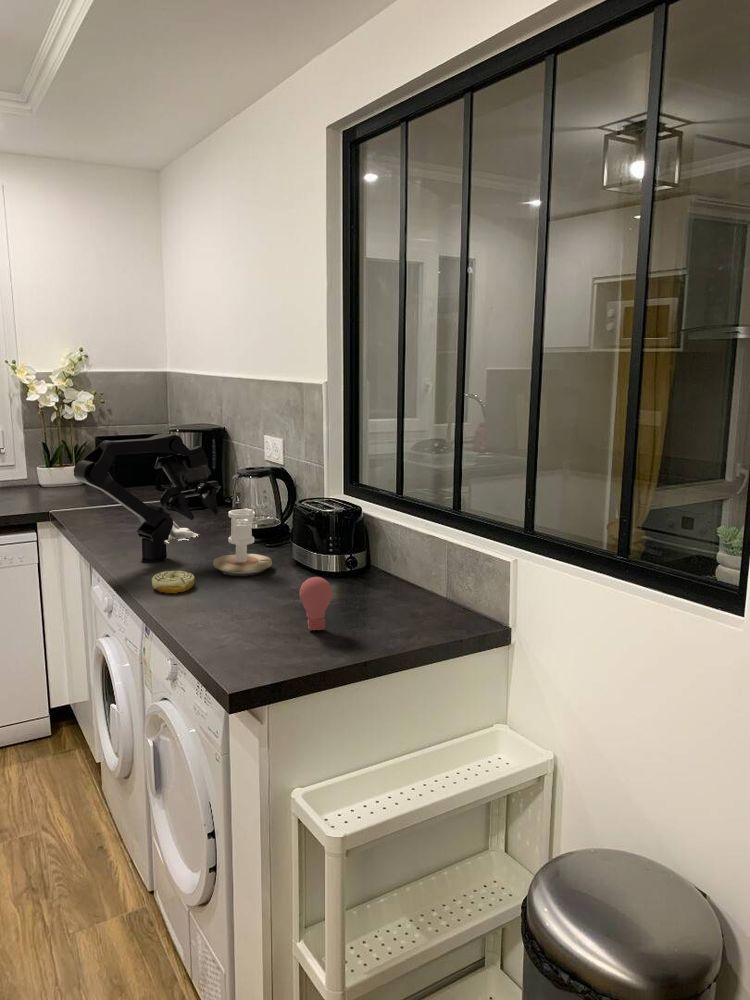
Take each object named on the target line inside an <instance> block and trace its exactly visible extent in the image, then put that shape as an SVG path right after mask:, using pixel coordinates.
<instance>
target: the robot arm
mask: <svg viewBox="0 0 750 1000" xmlns="http://www.w3.org/2000/svg"><path fill="white" fill-rule="evenodd" d="M146 453H156V454H157V453H158V454H164V455H167V456H163V457H162V456H157V458H156V461H155V465H154V467H153V468H154V469H155V470H156V469H161V468H162V469H163V471H164V473H165V474H166V476H167V477H168V479H169V480H170V482H169V484H168V485H169V486H170V487H168V488H166V489H165V490H164V492H163V493H162V495H161V496H160V498H159V503H160V505H161V506H159V505H155V504H151V503H149V505H147V504H146V503H144V501H142V500H140V499H139V498H137V497H136V496H135V495H134V494H133V493H131V492H130V491H129V490H127V489H126V488H125V487H123V486H122V485H120V484H119V483H118V482H116V481H115V480H114V479H113V477H112V475H111V474H110V473H109V469H110V468H111V466H112V464H113V462H114V460H115V458H116V457H117V456H120V455H134V454H146ZM208 465H209V457H208V456H207V454H206V453H205V451H204V450H203V447H202V446H199V445H197V446H194V447H192V448H189V447H187V446H186V444H185V443H184V441H183V439H182V437H180V435H177V434H173V433H164V432H162V433H159V434H155V435H153V436H151V437H147V438H137V439H136V438H135V439H134V438H133V439H121V440H119V439H118V440H102V441H101V442H100V443H99V444H98V446H97V447H95V448H94V449H93V450H92V451H90V452H88V454H86V455H85V456H84V458H83V459H81V460H80V461H78V462H76V464H75V466H74V467H73V476H74V478H75V479H76V480H77V481H79V482H82V483H84V484H86V485H89V486H91V487H92V488H94V489H95V488H96V489H98V490H100V491H101V492H103V493H104V494H105V495H107V496H108V497H110V498H111V499H113V500H114V501H115V502H116V503H118V504H120V505H121V506H122V507H124V508H125V509H127V510H128V511H129V512H131V513H132V514H134V515H135V516H136V517H137V518H138V520H139V522H140V523H141V524H140V526H139V527H138V529H137V530H136V534H137V536H138V538H141V559H140V561H141V563H144V562H145V563H151V562H152V563H153V562H158V563H159V562H165V561H166V559H167V558H168V544H167V542H165V540H168V538H169V535H170V531H171V530H172V527H173V521H174V519H173V518H172V517H171V516H172V514H171V513H170V512H167V511H165V509H164V508H167V509H169V510H172V511H174V512H176V513H179V514H180V515H182V516H184V517H186V518H187V519H189V520H190V521H194V519H195V516H194V514H193V512H192V511H191V509H190V507H189V505H188V503H187V502H186V498H189V497H197V496H198V497H199V498H200V499H201V501H202V504H204V505H205V506H206V507H207V508H208V509H209V510H210V511H211V512H212V513H213V514H214V515H215V516H217V515H218V514H219V513H220V512H219V508H218V504H217V497H216V496H217V493H218V492H219V490H220V489H221V485H220V484H219V481H217V480H211V481H206V482H204V483H203V485H202V486H201V487H199V486H200V485H201V484H202V481H203V480H205V479H208V478H209V476H211V474H212V472H211V469H210V468H209V467H208Z"/></svg>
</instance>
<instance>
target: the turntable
mask: <svg viewBox="0 0 750 1000" xmlns="http://www.w3.org/2000/svg"><path fill="white" fill-rule="evenodd" d="M212 563H213V564H212V565H213V568H215V569H217V570H219V571H221V570H222V571H227V572H254V571H260V570H264V571H265V570H267V569H268V568H270V567H271V566H272V564H273V563H272V559H271V558H270V557H269V556H267V555H262V554H258V553H257V554H256V553H247V561H246V562H236V553H233V554H232V553H231V554H227V555H222V556H219V557H217V558H215V559H214V560H213V562H212Z"/></svg>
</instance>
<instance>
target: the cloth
mask: <svg viewBox="0 0 750 1000" xmlns="http://www.w3.org/2000/svg"><path fill="white" fill-rule="evenodd" d="M198 535H199V534H198V533H195V532H193V531H191V530H190V528H188V527H179V525H178V524H177V523H176V522H175V521H174V520H173V527H172V530H171V531H170V535H169V538H168V540H165V542H167V543H168V544H170V541H172V540H173V539H174V540H175V539H176V540H178V541H177V542H183V541H182V540H187V541H190V540H189V539H192V538H191V537H193V538H196V536H197V537H199V536H198ZM172 538H173V539H172ZM177 538H178V539H177ZM186 538H188V539H186ZM168 541H169V542H168Z"/></svg>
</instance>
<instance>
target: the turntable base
mask: <svg viewBox="0 0 750 1000" xmlns="http://www.w3.org/2000/svg"><path fill="white" fill-rule="evenodd" d="M264 571H265V569H264V570H260V571H254V572H227V571H222V570H220V572H221V573H222V574H224V573H225V574H224V575H227V574H228V575H227V576H233V575H234V576H235V577H247V576H246V575H250V576H255V574H256V575H259V574H262V573H263V572H264ZM261 572H262V573H261Z"/></svg>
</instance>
